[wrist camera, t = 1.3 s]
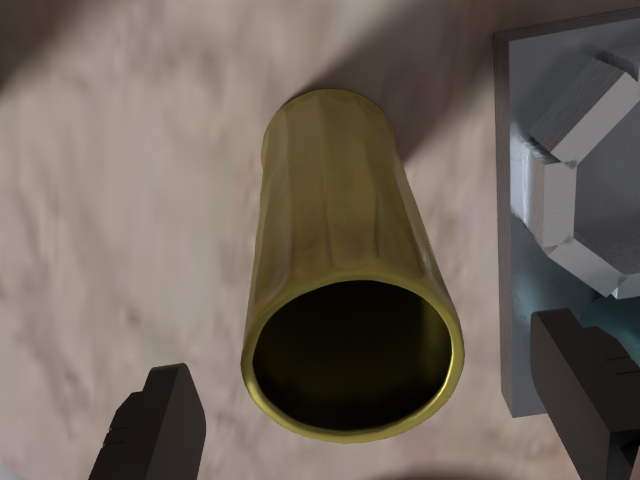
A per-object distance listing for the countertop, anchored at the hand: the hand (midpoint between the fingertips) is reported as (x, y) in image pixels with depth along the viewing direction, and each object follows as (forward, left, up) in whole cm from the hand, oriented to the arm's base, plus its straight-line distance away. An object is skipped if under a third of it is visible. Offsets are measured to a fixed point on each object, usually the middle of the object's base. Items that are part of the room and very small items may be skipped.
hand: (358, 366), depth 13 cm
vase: (0, 0, -14) cm, 14 cm away
